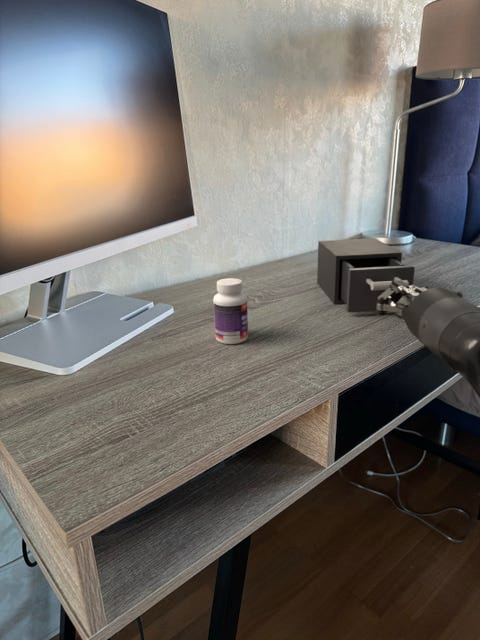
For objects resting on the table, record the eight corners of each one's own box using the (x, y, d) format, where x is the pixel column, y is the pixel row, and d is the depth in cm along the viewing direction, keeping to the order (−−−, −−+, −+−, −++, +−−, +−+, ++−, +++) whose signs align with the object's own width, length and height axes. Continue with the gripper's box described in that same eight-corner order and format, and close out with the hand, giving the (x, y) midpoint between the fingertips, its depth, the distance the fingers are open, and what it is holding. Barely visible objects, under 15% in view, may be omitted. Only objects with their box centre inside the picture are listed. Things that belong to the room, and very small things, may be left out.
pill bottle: (249, 344, 71) (247, 285, 67) (216, 346, 70) (212, 287, 67) (246, 331, 76) (245, 275, 72) (215, 333, 75) (211, 277, 72)
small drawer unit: (397, 300, 87) (402, 252, 84) (334, 304, 87) (336, 256, 83) (372, 280, 101) (375, 238, 97) (317, 283, 100) (318, 241, 97)
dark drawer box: (420, 317, 76) (425, 273, 73) (355, 321, 76) (358, 276, 73) (383, 287, 93) (386, 250, 90) (329, 290, 92) (330, 253, 89)
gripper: (394, 356, 57) (353, 310, 73) (494, 350, 57) (432, 305, 74) (400, 300, 54) (356, 265, 70) (505, 294, 55) (438, 261, 71)
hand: (395, 286), depth 72 cm, fingers closed
